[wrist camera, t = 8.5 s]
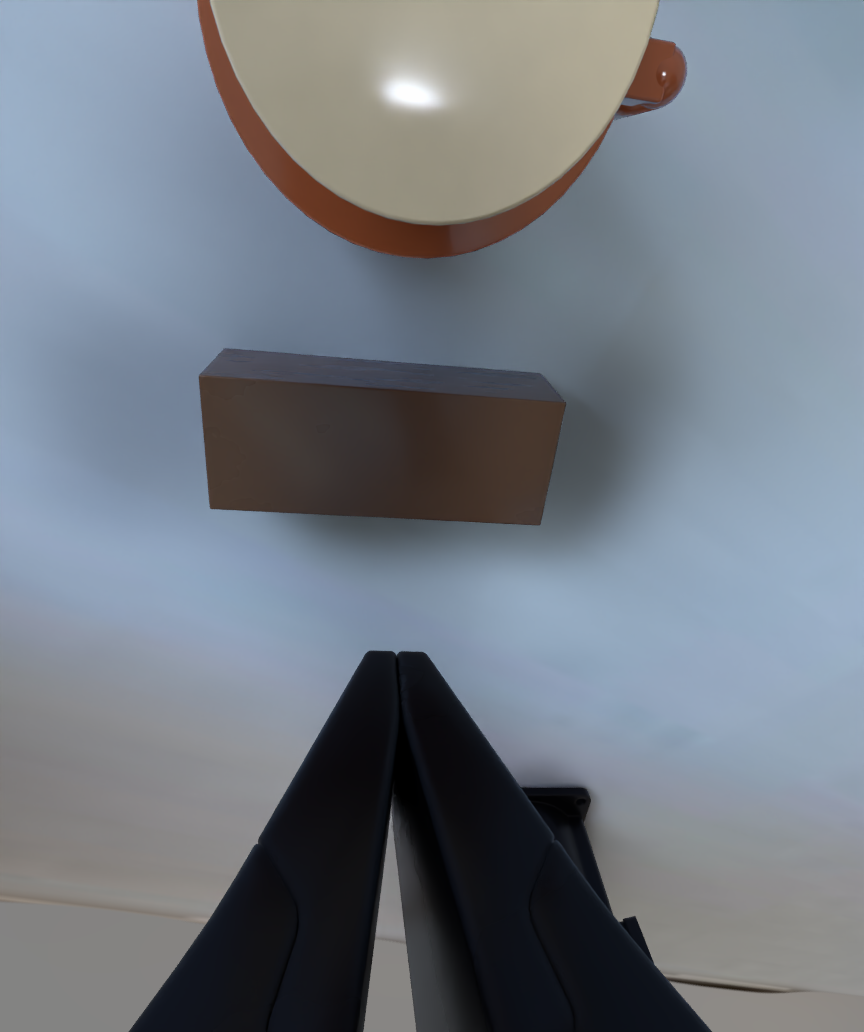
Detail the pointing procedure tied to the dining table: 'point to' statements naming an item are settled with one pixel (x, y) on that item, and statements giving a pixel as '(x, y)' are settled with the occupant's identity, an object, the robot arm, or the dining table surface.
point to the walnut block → (377, 438)
